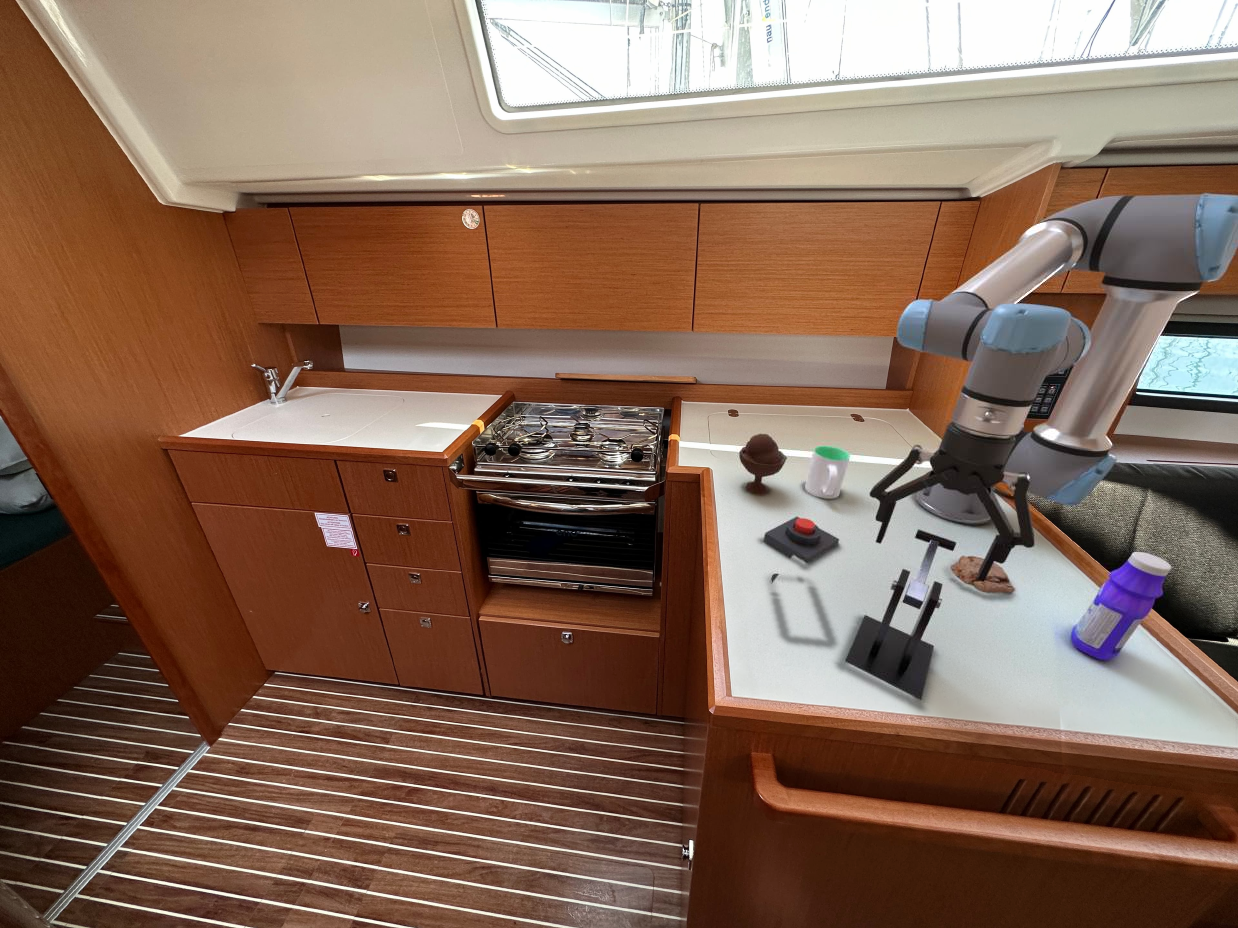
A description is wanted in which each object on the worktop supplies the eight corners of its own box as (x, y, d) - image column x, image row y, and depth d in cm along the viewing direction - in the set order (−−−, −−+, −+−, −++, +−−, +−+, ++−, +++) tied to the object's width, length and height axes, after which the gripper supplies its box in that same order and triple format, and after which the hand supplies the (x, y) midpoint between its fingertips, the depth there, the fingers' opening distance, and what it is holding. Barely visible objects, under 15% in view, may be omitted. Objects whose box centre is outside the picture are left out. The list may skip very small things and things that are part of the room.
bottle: (1073, 624, 79) (1128, 541, 71) (1119, 646, 75) (1182, 560, 67) (1063, 645, 75) (1120, 559, 67) (1110, 669, 71) (1177, 581, 63)
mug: (846, 509, 110) (858, 470, 105) (810, 504, 111) (820, 465, 106) (835, 484, 120) (845, 447, 116) (802, 480, 122) (811, 444, 117)
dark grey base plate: (794, 524, 103) (798, 509, 101) (836, 547, 96) (841, 531, 94) (763, 541, 97) (766, 525, 95) (805, 567, 90) (810, 550, 88)
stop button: (801, 523, 97) (802, 516, 97) (816, 531, 95) (818, 524, 94) (790, 528, 95) (792, 521, 95) (806, 537, 93) (808, 530, 92)
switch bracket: (862, 620, 79) (889, 549, 72) (931, 651, 73) (966, 577, 66) (842, 666, 70) (870, 590, 63) (918, 705, 65) (957, 627, 58)
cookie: (1002, 571, 91) (1009, 558, 90) (1017, 606, 83) (1024, 593, 81) (943, 556, 95) (949, 544, 94) (952, 588, 86) (958, 576, 85)
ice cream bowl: (781, 502, 111) (794, 445, 104) (733, 496, 113) (743, 439, 106) (777, 481, 121) (789, 427, 114) (733, 476, 122) (742, 422, 116)
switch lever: (915, 534, 73) (919, 525, 71) (953, 547, 70) (958, 538, 68) (891, 597, 67) (894, 589, 66) (931, 614, 65) (935, 606, 63)
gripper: (874, 412, 66) (836, 535, 76) (1113, 467, 52) (1030, 609, 62) (885, 399, 71) (849, 516, 81) (1105, 446, 58) (1030, 580, 68)
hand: (927, 556), depth 72 cm, fingers open, 13 cm apart
